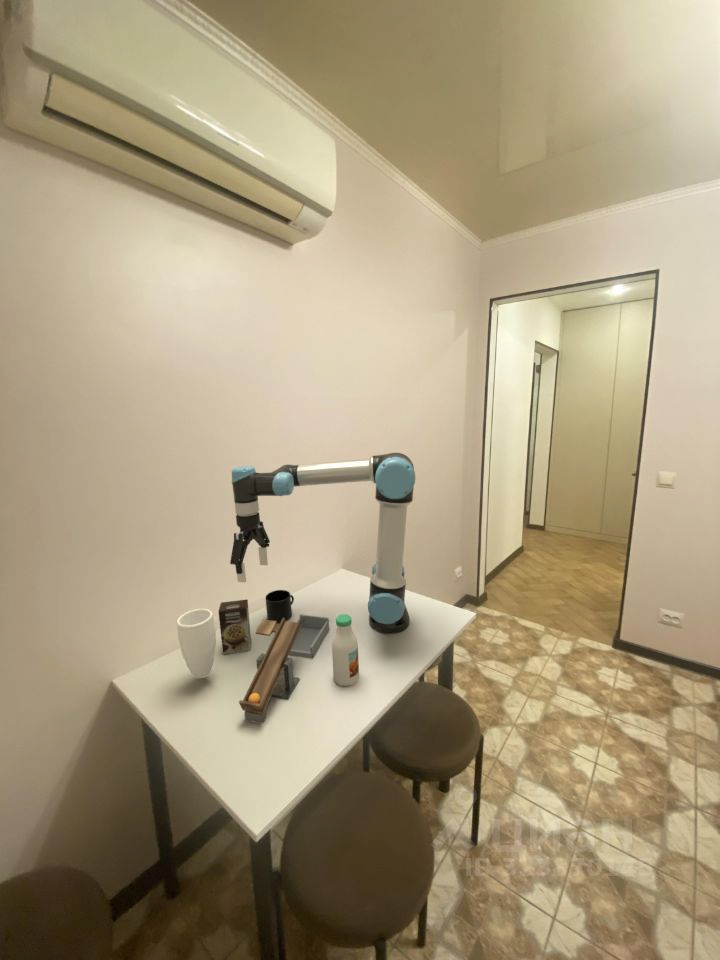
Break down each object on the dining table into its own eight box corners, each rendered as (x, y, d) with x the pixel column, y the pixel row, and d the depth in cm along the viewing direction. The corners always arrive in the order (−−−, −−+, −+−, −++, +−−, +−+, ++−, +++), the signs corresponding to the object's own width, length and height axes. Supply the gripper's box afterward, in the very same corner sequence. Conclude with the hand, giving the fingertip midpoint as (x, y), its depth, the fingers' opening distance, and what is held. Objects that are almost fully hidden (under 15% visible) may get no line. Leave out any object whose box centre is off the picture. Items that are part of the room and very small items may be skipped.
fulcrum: (299, 680, 116) (297, 652, 114) (288, 699, 109) (285, 670, 107) (266, 674, 119) (264, 647, 117) (253, 693, 111) (250, 665, 110)
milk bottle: (341, 691, 111) (338, 628, 107) (329, 675, 118) (325, 616, 114) (364, 680, 115) (361, 619, 111) (350, 665, 122) (348, 608, 118)
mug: (301, 613, 153) (300, 592, 151) (276, 626, 145) (275, 604, 143) (287, 605, 159) (285, 585, 158) (262, 617, 151) (260, 596, 149)
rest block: (266, 717, 103) (265, 709, 102) (262, 723, 101) (261, 715, 100) (249, 714, 104) (248, 706, 103) (245, 720, 102) (244, 711, 102)
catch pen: (329, 630, 141) (328, 617, 140) (312, 658, 126) (311, 644, 125) (301, 626, 144) (300, 614, 143) (281, 653, 129) (280, 640, 128)
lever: (302, 626, 124) (299, 616, 121) (264, 716, 101) (260, 706, 98) (264, 621, 127) (260, 611, 125) (219, 707, 104) (213, 697, 102)
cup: (185, 675, 120) (176, 612, 116) (220, 666, 124) (213, 604, 119) (183, 698, 110) (174, 630, 106) (222, 687, 114) (214, 621, 110)
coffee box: (222, 655, 129) (217, 611, 126) (225, 644, 135) (220, 601, 132) (250, 651, 131) (246, 607, 127) (251, 640, 137) (247, 598, 134)
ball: (263, 692, 103) (257, 695, 100) (261, 705, 102) (255, 708, 99) (253, 691, 104) (247, 693, 101) (251, 703, 103) (245, 706, 100)
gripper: (257, 503, 141) (263, 557, 145) (213, 524, 117) (221, 588, 122) (276, 503, 138) (280, 559, 143) (234, 525, 115) (241, 591, 119)
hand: (253, 572), depth 132 cm, fingers open, 13 cm apart
